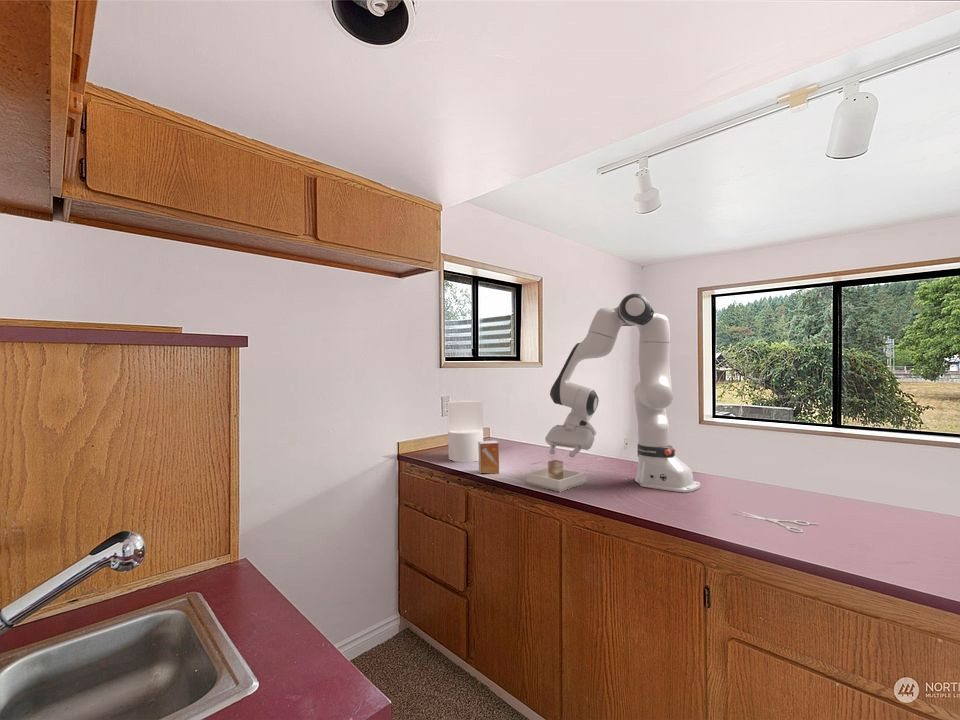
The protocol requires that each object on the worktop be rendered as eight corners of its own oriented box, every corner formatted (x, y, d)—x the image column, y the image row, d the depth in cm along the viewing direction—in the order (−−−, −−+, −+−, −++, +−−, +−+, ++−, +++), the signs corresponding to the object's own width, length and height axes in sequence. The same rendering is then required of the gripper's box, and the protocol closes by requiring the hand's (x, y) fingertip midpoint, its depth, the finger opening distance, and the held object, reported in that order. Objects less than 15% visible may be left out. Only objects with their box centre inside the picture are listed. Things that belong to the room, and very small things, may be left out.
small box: (480, 474, 185) (479, 443, 185) (478, 471, 191) (477, 441, 191) (499, 473, 186) (498, 442, 186) (497, 469, 192) (496, 440, 192)
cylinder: (448, 455, 224) (446, 400, 224) (481, 454, 226) (480, 399, 226) (449, 463, 207) (447, 403, 207) (485, 461, 209) (484, 402, 209)
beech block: (563, 481, 168) (562, 461, 168) (556, 483, 165) (556, 463, 165) (555, 479, 171) (554, 459, 171) (548, 481, 168) (547, 461, 168)
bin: (585, 483, 168) (585, 472, 168) (559, 492, 157) (559, 481, 157) (552, 476, 179) (552, 466, 179) (526, 484, 169) (525, 473, 169)
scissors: (808, 534, 114) (725, 514, 129) (808, 537, 114) (725, 517, 129) (818, 523, 121) (739, 506, 136) (819, 526, 121) (739, 508, 136)
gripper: (550, 420, 183) (536, 447, 176) (593, 423, 168) (579, 453, 161) (557, 429, 186) (544, 456, 179) (600, 433, 171) (586, 463, 164)
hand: (561, 455), depth 170 cm, fingers open, 8 cm apart
